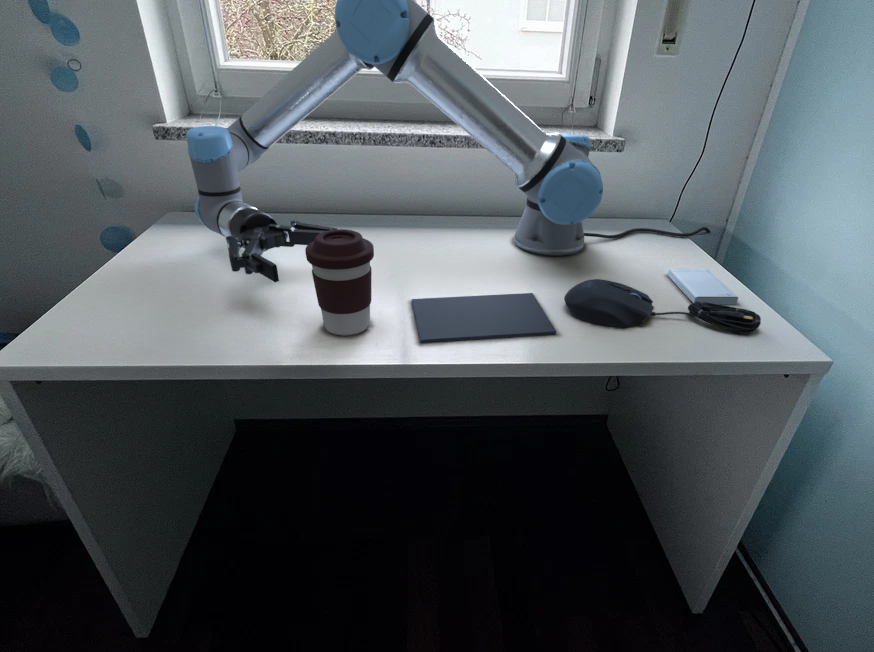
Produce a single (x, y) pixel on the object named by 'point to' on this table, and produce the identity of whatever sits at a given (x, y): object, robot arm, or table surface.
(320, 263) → the coffee cup
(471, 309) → the mat
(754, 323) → the computer mouse
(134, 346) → the table surface
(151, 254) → the table surface
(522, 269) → the table surface
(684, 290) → the hard drive
